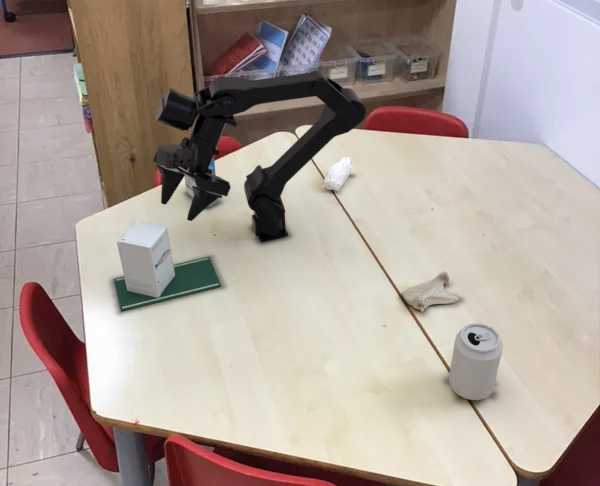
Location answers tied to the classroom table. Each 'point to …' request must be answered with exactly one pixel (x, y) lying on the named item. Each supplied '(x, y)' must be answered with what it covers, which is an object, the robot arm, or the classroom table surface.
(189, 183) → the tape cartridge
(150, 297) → the green mat
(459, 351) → the can
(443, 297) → the fossil
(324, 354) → the classroom table surface
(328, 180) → the white crumpled lump
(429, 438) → the classroom table surface
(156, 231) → the white packaging box
